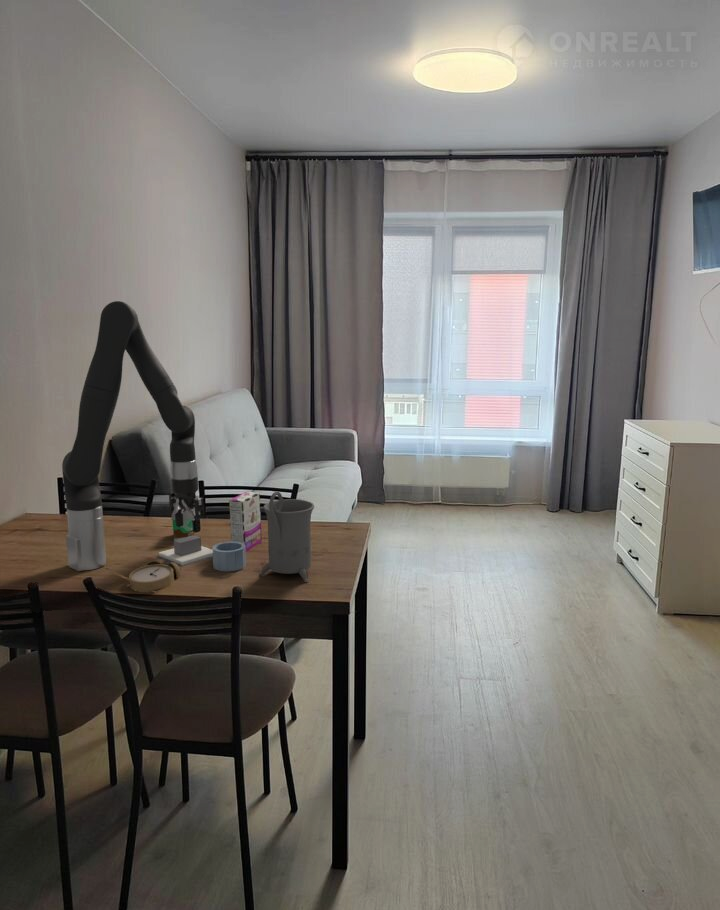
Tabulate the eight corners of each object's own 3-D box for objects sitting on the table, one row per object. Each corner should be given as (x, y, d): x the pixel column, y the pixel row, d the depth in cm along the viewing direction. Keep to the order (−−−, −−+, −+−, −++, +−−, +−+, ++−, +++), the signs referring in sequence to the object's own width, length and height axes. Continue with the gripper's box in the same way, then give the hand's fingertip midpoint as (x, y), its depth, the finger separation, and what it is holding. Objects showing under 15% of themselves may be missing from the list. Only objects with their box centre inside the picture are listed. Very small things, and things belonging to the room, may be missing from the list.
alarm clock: (119, 580, 174) (152, 552, 188) (122, 596, 176) (155, 567, 189) (156, 585, 171) (188, 556, 184) (159, 602, 173) (190, 572, 186)
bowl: (226, 575, 185) (225, 554, 184) (207, 567, 191) (206, 547, 190) (252, 566, 192) (251, 546, 191) (232, 559, 198) (232, 539, 197)
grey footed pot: (280, 560, 197) (278, 476, 192) (327, 567, 191) (326, 481, 187) (247, 583, 179) (244, 491, 175) (297, 591, 174) (295, 497, 169)
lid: (182, 565, 191) (181, 548, 190) (159, 555, 199) (158, 539, 198) (217, 554, 200) (216, 538, 199) (193, 546, 208) (192, 530, 207)
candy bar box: (248, 541, 214) (246, 490, 211) (262, 542, 213) (260, 492, 210) (230, 552, 204) (228, 499, 201) (245, 554, 202) (243, 500, 199)
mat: (181, 568, 190) (181, 567, 190) (154, 557, 199) (154, 555, 199) (222, 556, 200) (221, 554, 200) (194, 546, 210) (194, 544, 209)
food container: (192, 544, 211) (191, 513, 209) (172, 544, 211) (171, 513, 209) (202, 532, 223) (201, 503, 221) (183, 532, 223) (182, 503, 221)
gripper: (159, 474, 197) (163, 527, 201) (187, 481, 188) (191, 537, 191) (181, 469, 203) (184, 521, 206) (209, 476, 194) (213, 530, 197)
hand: (188, 529), depth 199 cm, fingers open, 8 cm apart
